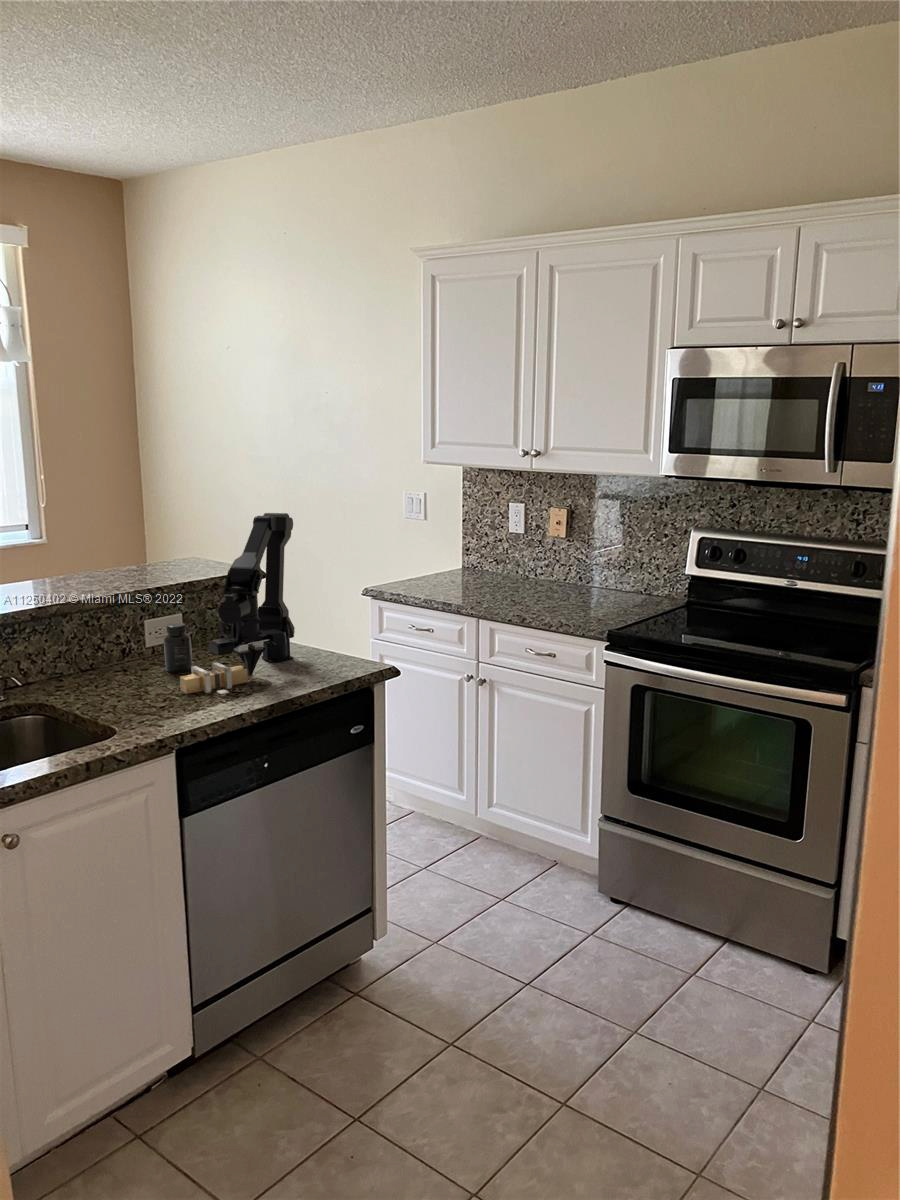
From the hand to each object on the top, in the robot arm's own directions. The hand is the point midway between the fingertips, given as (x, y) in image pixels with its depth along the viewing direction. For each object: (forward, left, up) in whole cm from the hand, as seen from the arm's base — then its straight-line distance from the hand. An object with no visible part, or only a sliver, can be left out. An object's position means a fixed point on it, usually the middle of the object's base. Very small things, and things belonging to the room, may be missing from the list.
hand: (249, 675), depth 242 cm
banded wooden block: (+10, 0, -1) cm, 10 cm away
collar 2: (+8, 0, -1) cm, 8 cm away
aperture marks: (+10, 0, -1) cm, 10 cm away
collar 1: (+13, 0, -1) cm, 13 cm away
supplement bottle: (+10, -20, -1) cm, 22 cm away
